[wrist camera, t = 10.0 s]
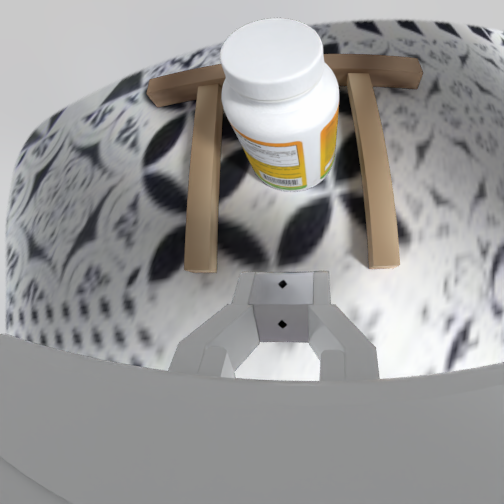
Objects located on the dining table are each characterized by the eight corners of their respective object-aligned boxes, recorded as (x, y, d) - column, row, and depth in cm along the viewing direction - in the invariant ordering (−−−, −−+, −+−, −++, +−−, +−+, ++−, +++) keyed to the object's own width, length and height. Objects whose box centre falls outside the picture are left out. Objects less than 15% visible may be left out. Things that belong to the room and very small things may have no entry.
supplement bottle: (307, 108, 20) (294, -4, 10) (350, 169, 18) (371, 62, 9) (237, 143, 20) (183, 41, 11) (274, 209, 19) (235, 122, 9)
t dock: (411, 74, 18) (417, 58, 17) (451, 265, 16) (465, 261, 14) (160, 93, 22) (149, 79, 20) (139, 272, 20) (122, 269, 18)
